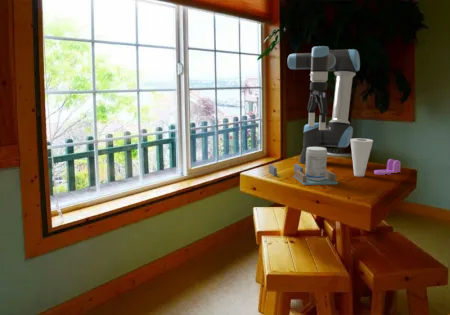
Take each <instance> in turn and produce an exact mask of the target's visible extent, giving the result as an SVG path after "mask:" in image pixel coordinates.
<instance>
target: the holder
mask: <svg viewBox="0 0 450 315" xmlns="http://www.w3.org/2000/svg"><path fill="white" fill-rule="evenodd" d="M295 170H299V171H300V172H301V173H303V174H304V167H303V166H301V165H300V164H298V163H294V164H293V172H294V173H295ZM277 172H278V168H277V167H276V166H275V165H273V164H271V163H270V164H268V173H269V174H270V175H272V176H273V177H278V175H277V174H278V173H277Z"/></svg>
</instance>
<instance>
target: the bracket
mask: <svg viewBox="0 0 450 315" xmlns="http://www.w3.org/2000/svg"><path fill="white" fill-rule="evenodd" d="M401 163H402V162H401V161H400V160H398V159H392V158H389V159H388V160H387V162H386V169H375V170H373V174H374V175H378V176H379V175H381V176H386V175H385V174H387V175H392V174H391V173H397V172H400V173H401Z"/></svg>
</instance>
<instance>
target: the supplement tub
mask: <svg viewBox="0 0 450 315" xmlns="http://www.w3.org/2000/svg"><path fill="white" fill-rule="evenodd" d="M327 157H328V149H327V148H326V147H324V148H323V147H308V148H307V151H306V164H305V169H304V171H305V172H304V175H306V179H308V180H313V181H322V180H324V179H325V177H326V170H327Z"/></svg>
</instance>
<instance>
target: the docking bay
mask: <svg viewBox="0 0 450 315" xmlns="http://www.w3.org/2000/svg"><path fill="white" fill-rule="evenodd" d="M337 177H338V176H337V174H336V173H334V172H331V171H330V170H328V169H326V177H325V179H324V180H322V181H313V180H308V179H306V175H305V173H304V172H303V173H301V172H300V171H299V170H295V172H294V174H293V178H294V179H296V180H297V181H298V182H299V183H301V184H302V185H303V186H318V185H319V186H321V185H322V186H323V185H339V182H338V181H337Z"/></svg>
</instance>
